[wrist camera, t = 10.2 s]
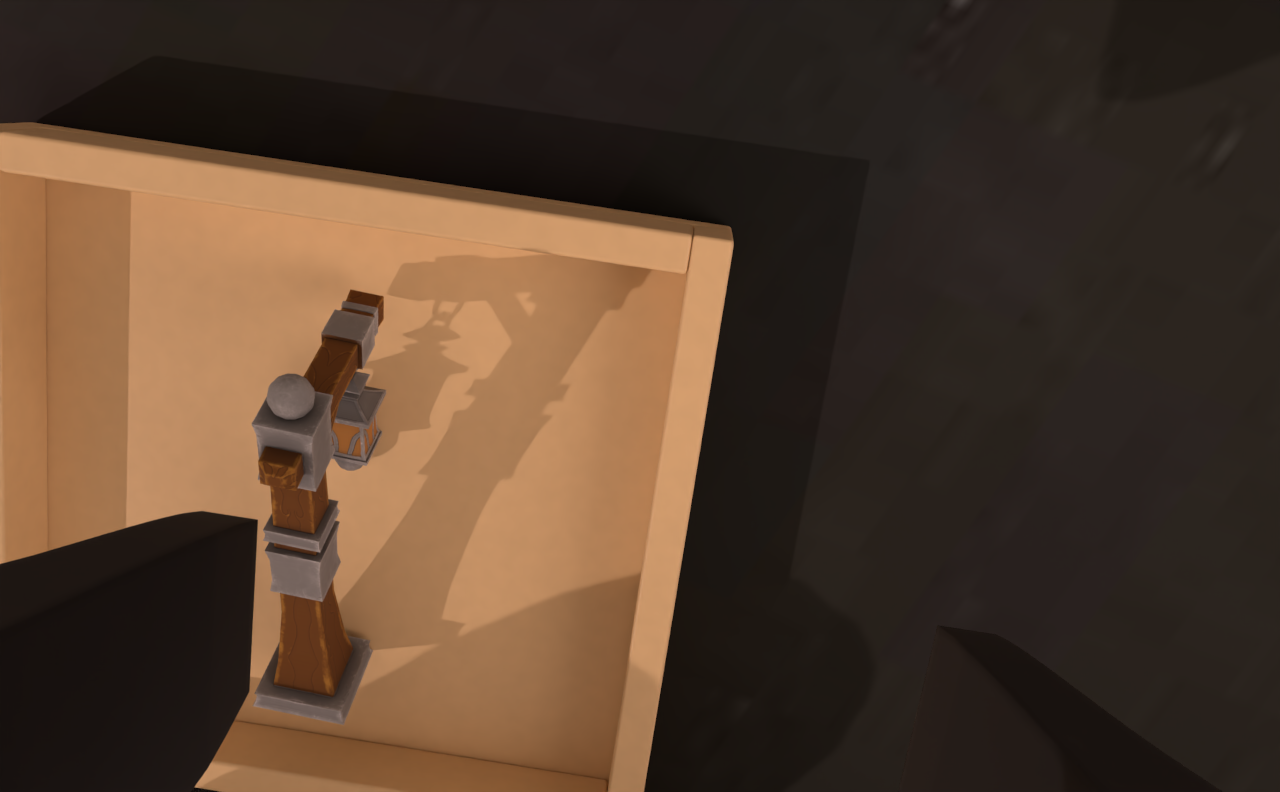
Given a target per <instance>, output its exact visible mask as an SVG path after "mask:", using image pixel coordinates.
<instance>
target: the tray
mask: <svg viewBox="0 0 1280 792" xmlns="http://www.w3.org/2000/svg"><path fill="white" fill-rule="evenodd" d="M733 247H734V242H733V236H732V231H731V227H729V226H725V225H718V224H711V223H704V222H698V221H691V220H684V219H678V218H671V217H664V216H657V215H651V214H644V213H637V212H631V211H624V210H617V209H610V208H604V207H597V206H590V205H584V204H577V203H570V202H563V201H557V200H550V199H543V198H537V197H530V196H523V195H516V194H510V193H503V192H496V191H490V190H483V189H476V188H469V187H463V186H456V185H449V184H443V183H436V182H429V181H422V180H416V179H409V178H402V177H396V176H389V175H382V174H375V173H369V172H362V171H355V170H349V169H342V168H335V167H328V166H322V165H315V164H308V163H302V162H295V161H288V160H281V159H275V158H268V157H261V156H255V155H248V154H241V153H234V152H228V151H221V150H214V149H208V148H201V147H194V146H187V145H181V144H174V143H167V142H161V141H154V140H147V139H141V138H134V137H127V136H120V135H114V134H107V133H100V132H94V131H87V130H80V129H73V128H67V127H60V126H53V125H47V124H40V123H33V122H23V123H0V564H2V563H6V562H9V561H13V560H17V559H21V558H25V557H28V556H32V555H36V554H39V553H42V552H46V551H49V550H53V549H56V548H59V547H63V546H66V545H70V544H73V543H76V542H80V541H83V540H86V539H90V538H93V537H97V536H100V535H103V534H107V533H110V532H114V531H117V530H120V529H124V528H127V527H131V526H134V525H138V524H141V523H145V522H149V521H152V520H156V519H160V518H164V517H168V516H173V515H177V514H182V513H189V512H197V511H206V512H212V513H218V514H225V515H231V516H238V517H244V518H251V519H257V520H258V530H257V550H256V570H255V590H254V610H253V630H252V650H251V670H250V690H249V693H248V695H247V697H246V699H245V701H244V703H243V705H242V707H241V709H240V711H239V713H238V714H237V716H236V718H235V720H234V722H233V724H232V726H231V728H230V730H229V732H228V734H227V735H226V737H225V739H224V741H223V742H222V744H221V746H220V748H219V749H218V751H217V753H216V755H215V757H214V758H213V760H212V762H211V764H210V765H209V767H208V769H207V770H206V772H205V773H204V774H203V776H202V777H201V779H200V780H199V781H198V783H197V784H196V786H195V787H196V788H202V789H208V790H214V791H220V792H644V788H645V782H646V776H647V770H648V764H649V758H650V752H651V746H652V740H653V734H654V727H655V721H656V715H657V709H658V703H659V697H660V691H661V685H662V679H663V673H664V667H665V661H666V654H667V648H668V642H669V636H670V630H671V624H672V618H673V612H674V606H675V600H676V594H677V588H678V581H679V575H680V569H681V563H682V557H683V551H684V545H685V539H686V533H687V527H688V521H689V515H690V508H691V502H692V496H693V490H694V484H695V478H696V472H697V466H698V460H699V454H700V448H701V442H702V435H703V429H704V423H705V417H706V411H707V405H708V399H709V393H710V387H711V381H712V375H713V368H714V362H715V356H716V350H717V344H718V338H719V332H720V326H721V320H722V314H723V308H724V302H725V295H726V289H727V283H728V277H729V271H730V265H731V259H732V253H733ZM350 289H351V290H356V291H361V292H365V293H370V294H375V295H380V296H384V320H383V321H382V323H381V324H380V326H379V327H378V333H377V335H376V336H375V346H374V348H373V350H372V352H371V354H370V356H369V358H368V360H367V362H366V364H365V366H364V368H363V370H362V369H358V370H357V371H356V372H361V373H366V374H370V376H369V378H368V380H367V382H366V385H365V386H369V387H374V388H379V389H384V390H386V395H385V397H384V399H383V401H382V403H381V405H380V407H379V409H378V411H377V413H376V419H377V427H378V429H379V430H380V431H382V435H381V437H380V439H379V441H378V444H377V446H376V448H375V450H374V452H373V454H372V456H371V458H370V460H369V462H368V464H367V466H364V465H363V466H362V467H361V468H360V469H357V470H354V471H347V470H345V469H342V468H341V467H340V466H339V465H338V464H337V462H336V461H335V459H331V460H330V463H329V465H328V467H327V469H326V478H327V489H328V499H331V500H336V501H339V502H338V505H337V507H338V510H340V512H339V514H338V516H337V518H336V521H339V522H340V523H339V527H338V531H337V553H338V556H339V558H340V561H341V563H340V565H339V567H338V570H337V572H336V574H335V576H334V578H333V582H334V591H335V595H336V599H337V603H338V606H339V610H340V614H341V618H342V622H343V625H344V629H345V632H346V634H347V636H351V637H356V638H361V639H366V640H371V641H370V643H369V647H370V649H372V650H373V652H372V655H371V657H370V660H369V662H368V665H367V667H366V670H365V673H364V675H363V678H362V680H361V683H360V685H359V688H358V690H357V693H356V695H355V698H354V700H353V703H352V705H351V708H350V710H349V713H348V715H347V718H346V720H345V723H344V725H341V724H337V723H332V722H327V721H322V720H317V719H313V718H308V717H303V716H298V715H293V714H289V713H284V712H279V711H274V710H269V709H265V708H260V707H255V706H253V704H254V702H255V700H256V697H257V695H256V694H254V693H255V691H256V689H257V687H258V685H259V683H260V681H261V679H262V677H263V675H264V673H265V670H266V668H267V666H268V664H269V662H270V660H271V658H272V656H273V654H274V652H275V650H276V648H277V646H278V643H279V641H280V628H281V613H282V611H281V598H280V593H278V592H273V591H270V589H271V583H272V575H271V567H270V560H269V558H268V556H267V554H266V553H265V549H266V547H267V545H268V543H269V542H267V541H263V539H264V537H265V533H264V531H263V529H264V527H265V525H266V523H267V521H268V519H269V518H270V516H271V514H272V504H271V491H270V486H267V485H263V484H260V480H258V475H259V466H258V460H259V456H258V447H257V437H256V433H255V431H254V429H253V426H252V422H253V420H254V419H255V417H256V415H257V413H258V411H259V410H260V408H261V406H262V404H263V402H264V401H265V399H266V397H267V393H268V387H269V385H270V384H271V383H272V382H273V381H274V380H275V379H276V378H277V377H279V376H281V375H284V374H298V375H300V376H304V375H305V373H306V371H307V369H308V367H309V366H310V364H311V362H312V360H313V359H314V357H315V355H316V353H317V351H318V350H319V348H320V346H321V344H322V340H321V333H322V331H323V329H324V327H325V326H326V324H327V322H328V320H329V319H330V317H331V315H332V313H333V311H334V310H335V309H336V310H341V305H342V302H343V301H346V299H347V297H348V294H349V292H350Z"/></svg>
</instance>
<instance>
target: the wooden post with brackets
mask: <svg viewBox="0 0 1280 792" xmlns="http://www.w3.org/2000/svg"><path fill="white" fill-rule="evenodd" d="M383 320H384V296H380V295H375V294H370V293H365V292H361V291H356V290H351V289H350V292H349V294H348V297H347V299H346V301H343V302H342V305H341V310H336V309H335V310H334V311H333V313H332V315H331V317H330V319H329V320H328V322H327V324H326V326H325V327H324V329H323V331H322V333H321V340H322V344H321V346H320V348H319V350H318V351H317V353H316V355H315V357H314V359H313V360H312V362H311V364H310V366H309V367H308V369H307V371H306V373H305V375H304V376H300V375H298V374H284V375H281V376H279V377H277V378H276V379H275V380H274V381H273V382H272V383H271V384H270V385H269V387H268V393H267V397H266V399H265V401H264V402H263V404H262V406H261V408H260V410H259V411H258V413H257V415H256V417H255V419H254V420H253V422H252V426H253V429H254V431H255V433H256V437H257V447H258V456H259V460H258V466H259V475H258V480H260V484H263V485H267V486H270V491H271V504H272V514H271V516H270V518H269V519H268V521H267V523H266V525H265V527H264V529H263V531H264V533H265V537H264V539H263V541H267V542H269V543H268V545H267V547H266V549H265V553H266V554H267V556H268V558H269V560H270V567H271V575H272V583H271V589H270V591H273V592H278V593H280V598H281V611H282V613H281V628H280V641H279V643H278V646H277V648H276V650H275V652H274V654H273V656H272V658H271V660H270V662H269V664H268V666H267V668H266V670H265V673H264V675H263V677H262V679H261V681H260V683H259V685H258V687H257V689H256V691H255V693H254V694H256V695H257V697H256V700H255V702H254V704H253V706H255V707H260V708H265V709H269V710H274V711H279V712H284V713H289V714H293V715H298V716H303V717H308V718H313V719H317V720H322V721H327V722H332V723H337V724H341V725H344V723H345V720H346V718H347V715H348V713H349V710H350V708H351V705H352V703H353V700H354V698H355V695H356V693H357V690H358V688H359V685H360V683H361V680H362V678H363V675H364V673H365V670H366V667H367V665H368V662H369V660H370V657H371V655H372V652H373V650H372V649H370V647H369V643H370V641H371V640H366V639H361V638H356V637H351V636H347V634H346V632H345V629H344V625H343V622H342V618H341V614H340V610H339V606H338V603H337V599H336V595H335V591H334V582H333V578H334V576H335V574H336V572H337V570H338V567H339V565H340V563H341V561H340V558H339V556H338V553H337V531H338V527H339V523H340V522H339V521H336V518H337V516H338V514H339V512H340V510H338V507H337V505H338V502H339V501H336V500H331V499H328V489H327V478H326V469H327V467H328V465H329V463H330V460H331V459H335V461H336V462H337V464H338V465H339V466H340V467H341V468H342V469H345V470H347V471H354V470H357V469H360V468H361V467H362V466H363V465H364V466H367V464H368V462H369V460H370V458H371V456H372V454H373V452H374V450H375V448H376V446H377V444H378V441H379V439H380V437H381V435H382V431H380V430H379V429H378V427H377V419H376V413H377V411H378V409H379V407H380V405H381V403H382V401H383V399H384V397H385V395H386V390H384V389H379V388H374V387H369V386H365V385H366V382H367V380H368V378H369V376H370V374H366V373H361V372H356V371H357V370H358V369H362V370H363V368H364V366H365V364H366V362H367V360H368V358H369V356H370V354H371V352H372V350H373V348H374V346H375V336H376V335H377V333H378V327H379V326H380V324H381V323H382V321H383Z"/></svg>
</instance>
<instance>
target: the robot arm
mask: <svg viewBox="0 0 1280 792" xmlns="http://www.w3.org/2000/svg"><path fill="white" fill-rule="evenodd" d="M257 530H258V520H257V519H251V518H244V517H238V516H231V515H225V514H218V513H212V512H206V511H197V512H189V513H182V514H177V515H173V516H168V517H164V518H160V519H156V520H152V521H149V522H145V523H141V524H138V525H134V526H131V527H127V528H124V529H120V530H117V531H114V532H110V533H107V534H103V535H100V536H97V537H93V538H90V539H86V540H83V541H80V542H76V543H73V544H70V545H66V546H63V547H59V548H56V549H53V550H49V551H46V552H42V553H39V554H36V555H32V556H28V557H25V558H21V559H17V560H13V561H9V562H6V563H2V564H0V792H191V791H192V790H193V788H194V787H195V786H196V784H197V783H198V781H199V780H200V779H201V777H202V776H203V774H204V773H205V772H206V770H207V769H208V767H209V765H210V764H211V762H212V760H213V758H214V757H215V755H216V753H217V751H218V749H219V748H220V746H221V744H222V742H223V741H224V739H225V737H226V735H227V734H228V732H229V730H230V728H231V726H232V724H233V722H234V720H235V718H236V716H237V714H238V713H239V711H240V709H241V707H242V705H243V703H244V701H245V699H246V697H247V695H248V693H249V690H250V670H251V650H252V630H253V610H254V590H255V570H256V550H257ZM898 792H1222V791H1221V790H1219V789H1218V788H1216V787H1215V786H1213V785H1212V784H1210V783H1208V782H1207V781H1205V780H1204V779H1202V778H1201V777H1199V776H1198V775H1196V774H1195V773H1193V772H1192V771H1190V770H1189V769H1187V768H1186V767H1184V766H1183V765H1181V764H1180V763H1178V762H1177V761H1175V760H1174V759H1172V758H1171V757H1169V756H1168V755H1166V754H1165V753H1164V752H1162V751H1161V750H1159V749H1158V748H1156V747H1155V746H1154V745H1152V744H1151V743H1149V742H1148V741H1146V740H1145V739H1144V738H1142V737H1141V736H1139V735H1138V734H1137V733H1135V732H1134V731H1132V730H1131V729H1130V728H1128V727H1127V726H1126V725H1124V724H1123V723H1121V722H1120V721H1119V720H1117V719H1116V718H1115V717H1113V716H1112V715H1111V714H1109V713H1108V712H1106V711H1105V710H1104V709H1102V708H1101V707H1100V706H1098V705H1097V704H1096V703H1094V702H1093V701H1092V700H1090V699H1089V698H1088V697H1086V696H1085V695H1084V694H1082V693H1081V692H1080V691H1078V690H1077V689H1076V688H1074V687H1073V686H1072V685H1070V684H1069V683H1068V682H1066V681H1065V680H1064V679H1062V678H1061V677H1060V676H1058V675H1057V674H1056V673H1054V672H1053V671H1051V670H1050V669H1049V668H1047V667H1046V666H1045V665H1043V664H1042V663H1040V662H1039V661H1038V660H1036V659H1035V658H1033V657H1032V656H1031V655H1029V654H1028V653H1026V652H1025V651H1023V650H1022V649H1020V648H1019V647H1017V646H1016V645H1014V644H1013V643H1011V642H1009V641H1008V640H1006V639H1004V638H1002V637H1000V636H998V635H996V634H989V633H983V632H976V631H970V630H963V629H957V628H951V627H944V626H937V630H936V635H935V639H934V643H933V647H932V651H931V656H930V660H929V664H928V668H927V673H926V677H925V681H924V685H923V689H922V694H921V698H920V702H919V706H918V710H917V715H916V719H915V723H914V727H913V732H912V736H911V740H910V744H909V748H908V753H907V757H906V761H905V765H904V769H903V774H902V778H901V782H900V786H899V791H898Z"/></svg>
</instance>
